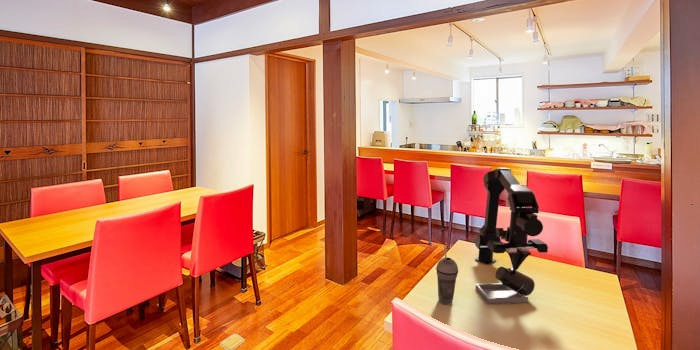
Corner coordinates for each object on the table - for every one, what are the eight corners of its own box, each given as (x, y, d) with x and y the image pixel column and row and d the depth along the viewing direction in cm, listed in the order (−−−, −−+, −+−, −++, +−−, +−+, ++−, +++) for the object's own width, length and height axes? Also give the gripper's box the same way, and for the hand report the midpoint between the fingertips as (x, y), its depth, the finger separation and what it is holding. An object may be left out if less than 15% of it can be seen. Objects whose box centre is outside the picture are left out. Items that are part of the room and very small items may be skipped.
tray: (511, 287, 130) (512, 282, 129) (527, 303, 120) (528, 297, 119) (475, 289, 129) (476, 283, 129) (488, 304, 119) (488, 298, 118)
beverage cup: (453, 309, 116) (456, 251, 112) (431, 303, 120) (434, 247, 116) (459, 299, 122) (462, 244, 118) (438, 293, 126) (440, 240, 122)
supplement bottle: (531, 298, 120) (502, 283, 119) (518, 294, 127) (490, 280, 125) (537, 279, 122) (508, 264, 120) (524, 276, 128) (496, 262, 127)
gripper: (532, 219, 128) (528, 259, 131) (482, 219, 127) (479, 260, 130) (551, 228, 117) (546, 272, 120) (496, 229, 116) (492, 273, 119)
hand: (515, 269), depth 123 cm, fingers closed
